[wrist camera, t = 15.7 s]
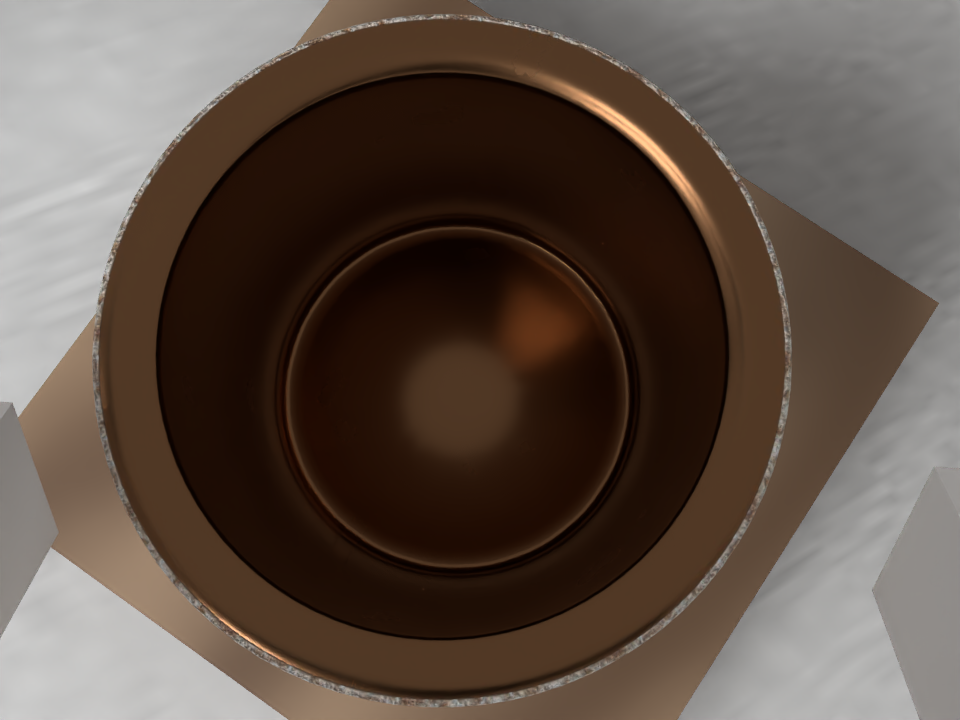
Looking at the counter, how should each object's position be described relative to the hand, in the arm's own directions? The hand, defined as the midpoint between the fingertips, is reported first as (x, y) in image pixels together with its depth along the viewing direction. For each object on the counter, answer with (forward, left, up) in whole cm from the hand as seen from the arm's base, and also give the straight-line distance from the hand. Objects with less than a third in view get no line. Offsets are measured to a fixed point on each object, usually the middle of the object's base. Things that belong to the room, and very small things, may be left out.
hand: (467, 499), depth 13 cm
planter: (-2, +2, -10) cm, 10 cm away
